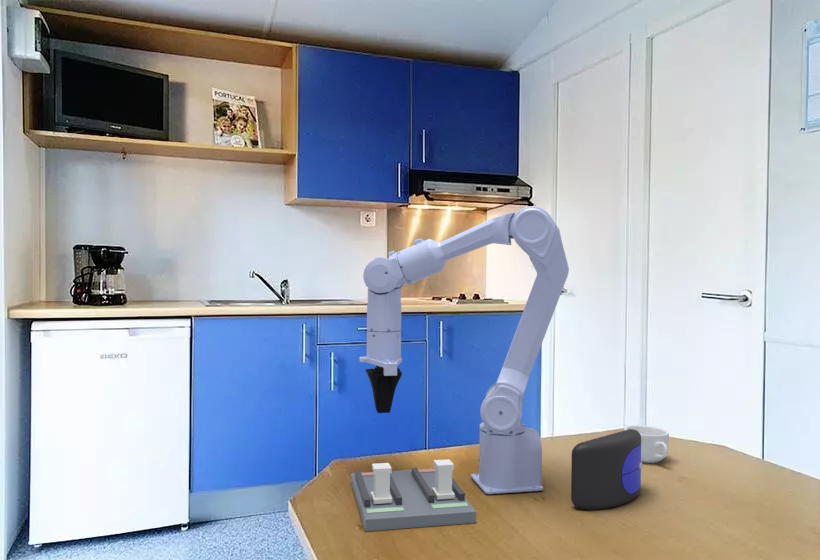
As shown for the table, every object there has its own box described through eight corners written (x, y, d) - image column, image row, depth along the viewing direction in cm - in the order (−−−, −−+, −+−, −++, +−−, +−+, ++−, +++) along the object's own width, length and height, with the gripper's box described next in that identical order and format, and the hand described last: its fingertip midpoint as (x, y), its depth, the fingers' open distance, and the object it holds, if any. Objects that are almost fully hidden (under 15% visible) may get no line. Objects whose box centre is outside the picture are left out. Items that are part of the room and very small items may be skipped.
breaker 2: (449, 490, 85) (449, 458, 85) (454, 498, 82) (455, 465, 82) (432, 491, 84) (432, 459, 84) (437, 499, 81) (437, 466, 81)
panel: (442, 477, 95) (442, 462, 95) (476, 522, 78) (476, 504, 78) (351, 482, 92) (351, 467, 92) (365, 531, 75) (365, 512, 75)
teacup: (615, 453, 109) (615, 425, 109) (651, 451, 111) (651, 423, 111) (646, 471, 100) (647, 440, 100) (686, 469, 101) (686, 438, 101)
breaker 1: (388, 494, 83) (389, 462, 83) (392, 502, 80) (392, 468, 80) (370, 495, 82) (371, 463, 82) (373, 504, 79) (374, 469, 79)
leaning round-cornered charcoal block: (595, 519, 80) (596, 450, 80) (568, 508, 83) (568, 443, 83) (657, 493, 90) (658, 432, 90) (630, 484, 93) (630, 426, 93)
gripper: (355, 327, 103) (354, 403, 103) (365, 335, 88) (364, 423, 88) (394, 326, 104) (393, 402, 104) (410, 334, 90) (409, 422, 90)
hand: (383, 412), depth 96 cm, fingers closed
